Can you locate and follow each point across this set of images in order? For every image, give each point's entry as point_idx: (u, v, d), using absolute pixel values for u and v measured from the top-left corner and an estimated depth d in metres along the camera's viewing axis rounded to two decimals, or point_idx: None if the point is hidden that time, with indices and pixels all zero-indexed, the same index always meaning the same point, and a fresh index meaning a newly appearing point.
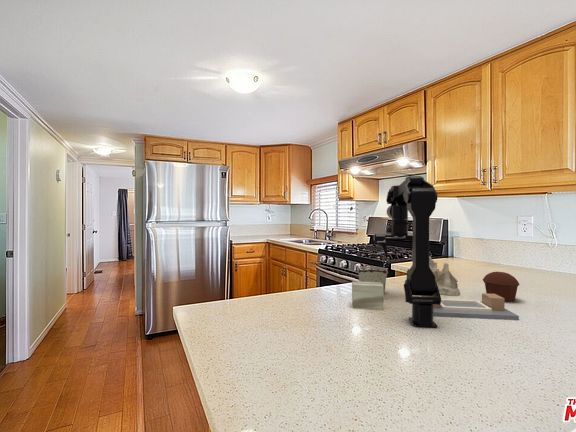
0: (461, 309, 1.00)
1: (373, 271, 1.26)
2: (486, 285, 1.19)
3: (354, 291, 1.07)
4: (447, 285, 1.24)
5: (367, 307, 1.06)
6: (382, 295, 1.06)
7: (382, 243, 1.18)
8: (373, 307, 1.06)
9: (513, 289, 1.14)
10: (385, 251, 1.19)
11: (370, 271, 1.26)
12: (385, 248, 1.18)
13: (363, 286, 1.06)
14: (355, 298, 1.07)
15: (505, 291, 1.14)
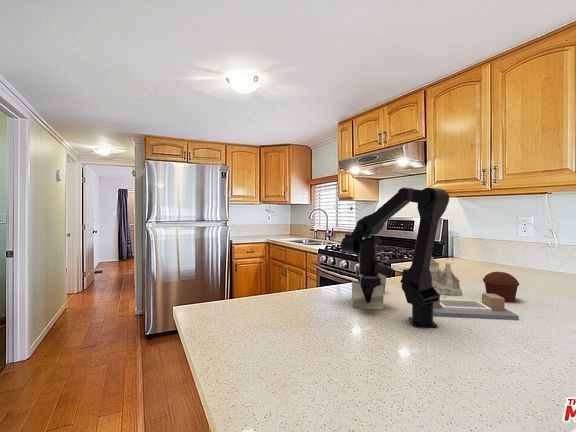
0: (461, 309, 1.00)
1: None
2: (486, 285, 1.19)
3: (354, 291, 1.07)
4: (449, 285, 1.24)
5: (367, 307, 1.06)
6: (382, 294, 1.06)
7: None
8: (373, 307, 1.06)
9: (513, 289, 1.14)
10: None
11: None
12: None
13: None
14: (355, 298, 1.07)
15: (505, 291, 1.14)
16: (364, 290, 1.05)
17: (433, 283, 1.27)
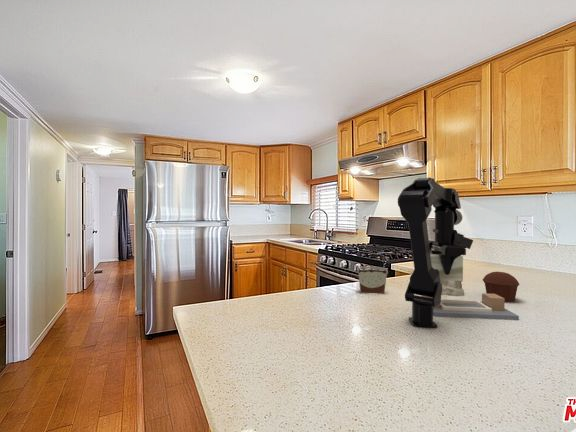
0: (461, 309, 1.00)
1: (373, 271, 1.26)
2: (486, 285, 1.19)
3: (432, 263, 1.04)
4: (452, 285, 1.24)
5: (446, 279, 1.03)
6: (461, 266, 1.03)
7: (430, 251, 1.10)
8: (452, 279, 1.03)
9: (512, 289, 1.14)
10: None
11: (370, 271, 1.26)
12: None
13: None
14: None
15: (505, 291, 1.14)
16: (444, 261, 1.02)
17: None
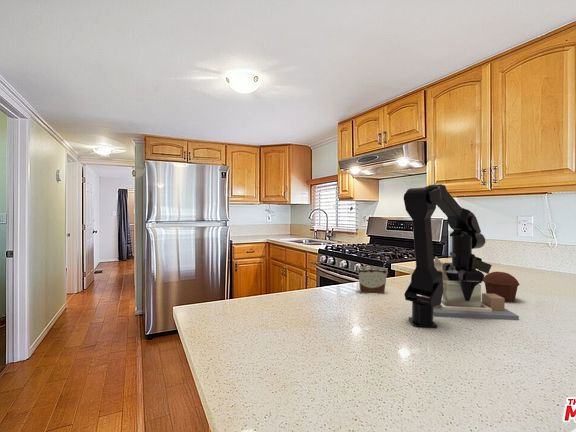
0: (461, 309, 1.00)
1: (373, 271, 1.26)
2: (486, 285, 1.19)
3: (449, 290, 1.03)
4: None
5: None
6: (479, 294, 1.02)
7: (445, 273, 1.11)
8: None
9: (513, 289, 1.14)
10: None
11: (370, 271, 1.26)
12: (448, 279, 1.10)
13: (459, 285, 1.02)
14: (450, 298, 1.03)
15: (505, 291, 1.14)
16: (464, 288, 0.99)
17: None
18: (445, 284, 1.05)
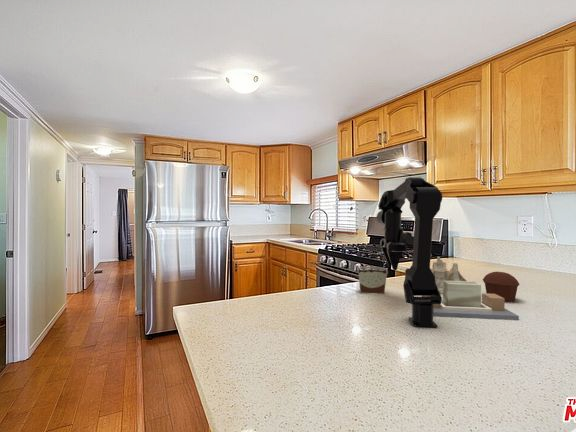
0: (461, 309, 1.00)
1: (373, 271, 1.26)
2: (486, 285, 1.19)
3: (449, 290, 1.03)
4: None
5: None
6: (479, 294, 1.02)
7: None
8: None
9: (513, 289, 1.14)
10: (385, 256, 1.22)
11: (370, 271, 1.26)
12: None
13: (459, 285, 1.02)
14: (450, 298, 1.03)
15: (505, 291, 1.14)
16: (391, 258, 1.10)
17: (440, 283, 1.27)
18: (445, 284, 1.05)
